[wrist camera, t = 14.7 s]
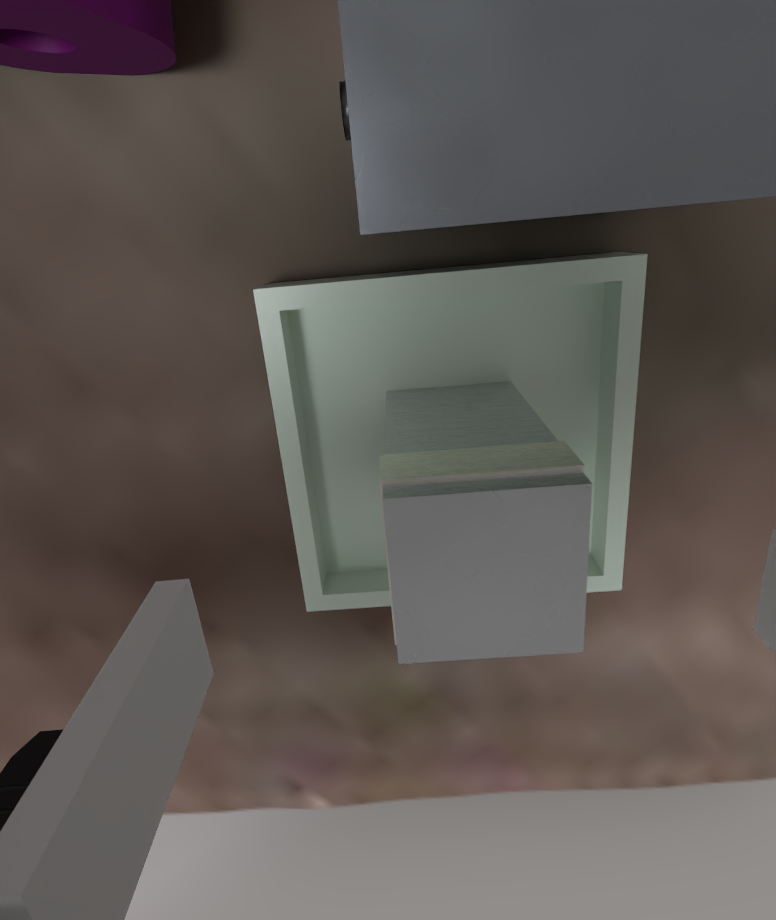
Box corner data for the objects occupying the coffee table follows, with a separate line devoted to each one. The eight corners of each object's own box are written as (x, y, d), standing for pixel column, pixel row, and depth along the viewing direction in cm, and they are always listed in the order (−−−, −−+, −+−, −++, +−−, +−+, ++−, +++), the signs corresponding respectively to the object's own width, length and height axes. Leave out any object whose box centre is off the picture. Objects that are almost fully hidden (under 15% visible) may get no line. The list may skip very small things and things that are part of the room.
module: (393, 504, 25) (394, 667, 16) (383, 389, 23) (377, 495, 14) (513, 496, 25) (586, 654, 15) (513, 378, 23) (596, 479, 14)
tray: (313, 579, 27) (306, 611, 25) (267, 283, 22) (253, 289, 20) (601, 559, 27) (621, 590, 24) (620, 251, 22) (647, 254, 19)
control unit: (367, 234, 22) (348, 235, 12) (351, 61, 20) (315, -92, 10) (621, 210, 21) (801, 194, 12) (632, 32, 19) (858, -153, 10)
